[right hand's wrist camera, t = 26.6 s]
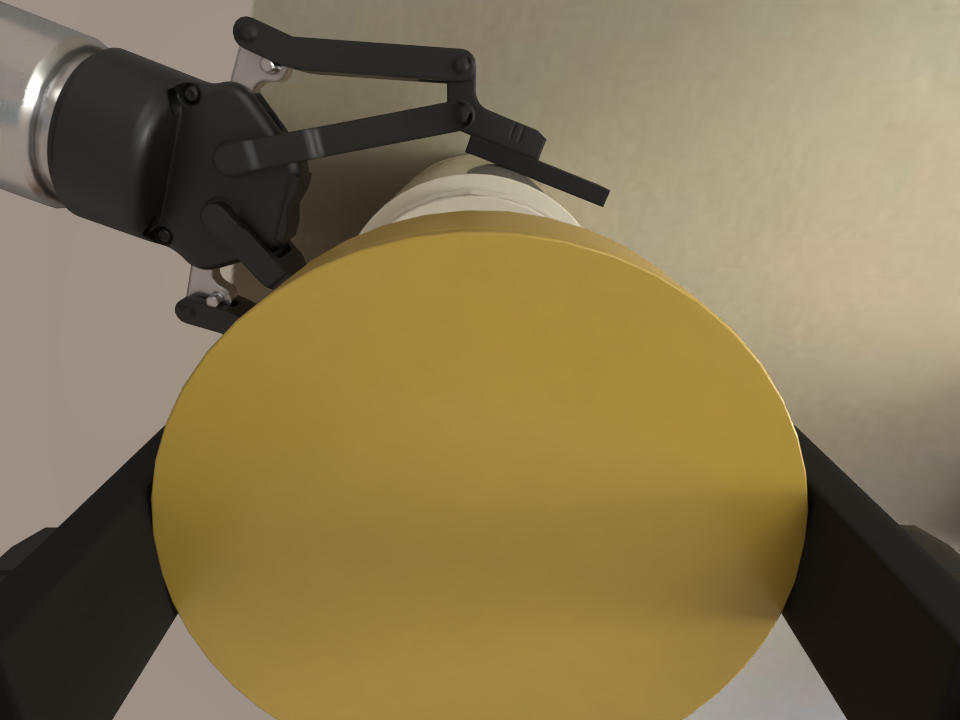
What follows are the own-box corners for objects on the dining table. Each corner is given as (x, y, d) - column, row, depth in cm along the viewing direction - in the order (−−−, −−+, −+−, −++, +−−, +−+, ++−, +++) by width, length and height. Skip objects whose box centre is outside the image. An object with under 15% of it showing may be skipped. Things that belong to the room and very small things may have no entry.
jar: (544, 338, 38) (588, 473, 23) (380, 318, 37) (320, 443, 23) (575, 167, 34) (650, 201, 20) (393, 142, 34) (331, 158, 19)
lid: (842, 284, 11) (931, 323, 9) (650, 713, 15) (679, 814, 13) (229, 144, 10) (161, 150, 8) (194, 639, 14) (142, 733, 12)
